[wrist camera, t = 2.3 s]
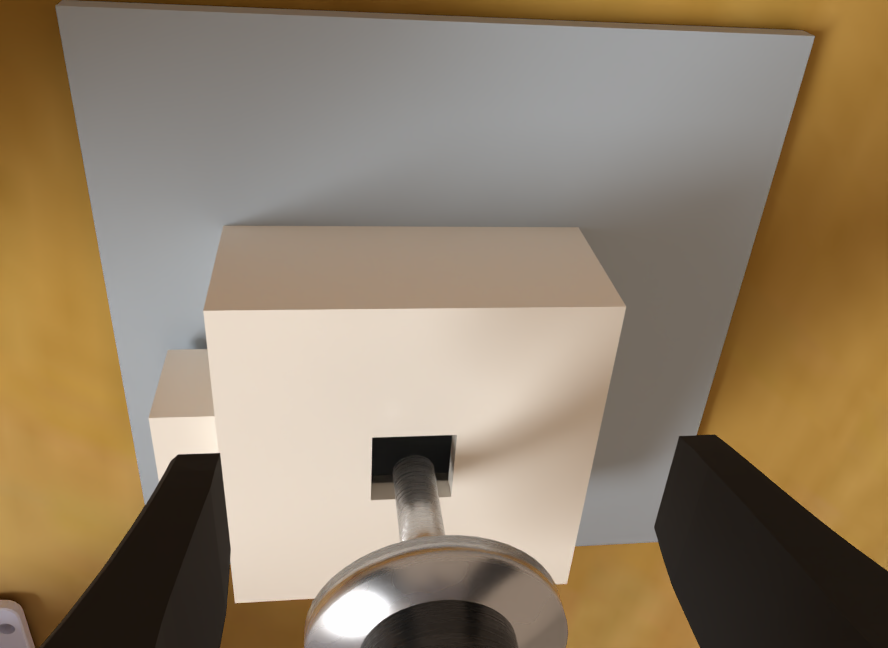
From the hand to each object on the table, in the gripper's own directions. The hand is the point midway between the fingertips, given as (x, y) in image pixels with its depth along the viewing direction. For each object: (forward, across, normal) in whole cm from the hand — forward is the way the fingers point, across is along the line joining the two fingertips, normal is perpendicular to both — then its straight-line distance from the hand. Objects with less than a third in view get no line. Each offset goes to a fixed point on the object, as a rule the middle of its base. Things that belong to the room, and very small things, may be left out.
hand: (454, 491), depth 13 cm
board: (+10, -1, +3) cm, 11 cm away
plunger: (+5, 0, +4) cm, 7 cm away
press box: (+9, 0, +4) cm, 10 cm away
